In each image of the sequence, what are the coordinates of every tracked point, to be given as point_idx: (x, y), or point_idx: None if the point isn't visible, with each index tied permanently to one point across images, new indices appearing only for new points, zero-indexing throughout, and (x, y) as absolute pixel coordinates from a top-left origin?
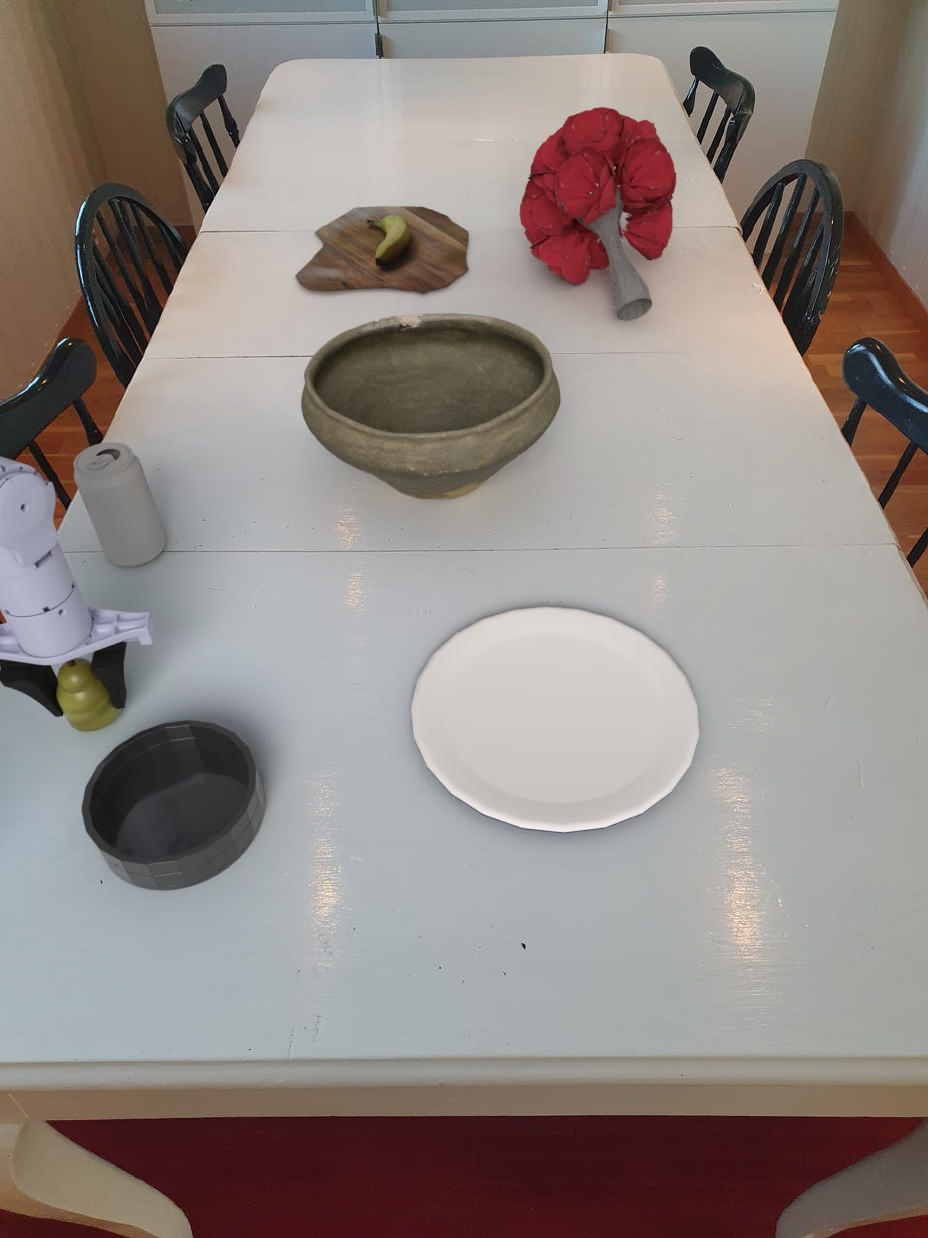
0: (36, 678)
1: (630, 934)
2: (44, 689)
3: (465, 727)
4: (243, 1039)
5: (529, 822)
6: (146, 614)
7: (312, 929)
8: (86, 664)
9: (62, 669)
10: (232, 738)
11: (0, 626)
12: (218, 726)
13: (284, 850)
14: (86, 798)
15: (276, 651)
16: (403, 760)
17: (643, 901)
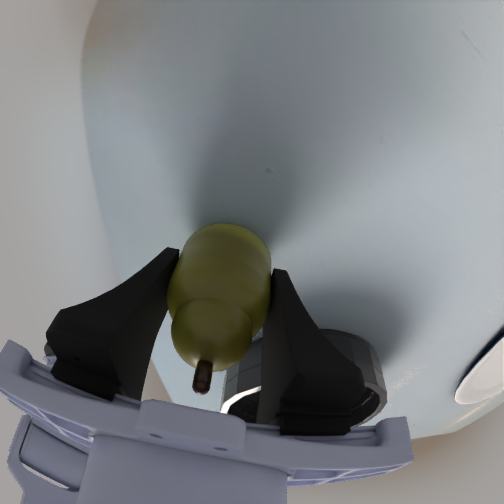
0: (141, 378)
1: (442, 420)
2: (152, 342)
3: (498, 353)
4: None
5: (462, 403)
6: (404, 465)
7: None
8: (235, 359)
9: (184, 359)
10: (381, 397)
11: (37, 409)
12: (378, 388)
13: None
14: (224, 409)
15: (486, 229)
16: (460, 364)
17: (456, 413)
